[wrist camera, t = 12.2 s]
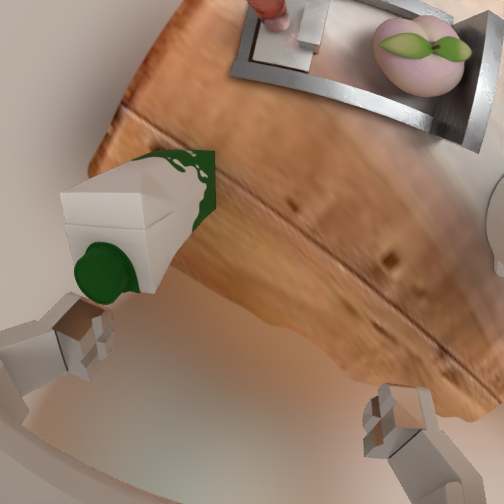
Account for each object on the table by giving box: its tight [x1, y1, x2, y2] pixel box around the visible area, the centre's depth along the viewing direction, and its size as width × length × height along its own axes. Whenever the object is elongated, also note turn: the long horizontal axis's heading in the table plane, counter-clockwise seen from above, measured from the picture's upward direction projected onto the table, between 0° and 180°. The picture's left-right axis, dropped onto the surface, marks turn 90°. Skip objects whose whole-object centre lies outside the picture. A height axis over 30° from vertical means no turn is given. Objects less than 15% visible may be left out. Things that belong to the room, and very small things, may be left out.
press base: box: [230, 0, 504, 154], centre depth 23 cm, size 24×14×9 cm, turn 78°
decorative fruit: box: [372, 15, 472, 97], centre depth 22 cm, size 9×8×10 cm
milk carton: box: [60, 150, 216, 305], centre depth 28 cm, size 9×9×20 cm
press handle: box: [247, 0, 330, 73], centre depth 22 cm, size 6×10×12 cm, turn 168°
